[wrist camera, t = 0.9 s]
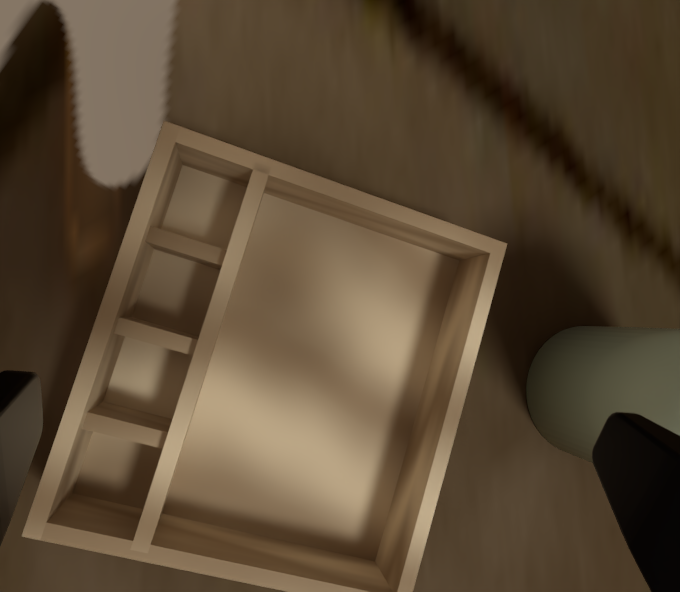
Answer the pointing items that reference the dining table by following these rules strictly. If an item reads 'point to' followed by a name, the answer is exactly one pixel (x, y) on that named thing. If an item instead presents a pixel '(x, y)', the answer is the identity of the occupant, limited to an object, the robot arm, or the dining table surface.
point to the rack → (269, 378)
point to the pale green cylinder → (603, 382)
